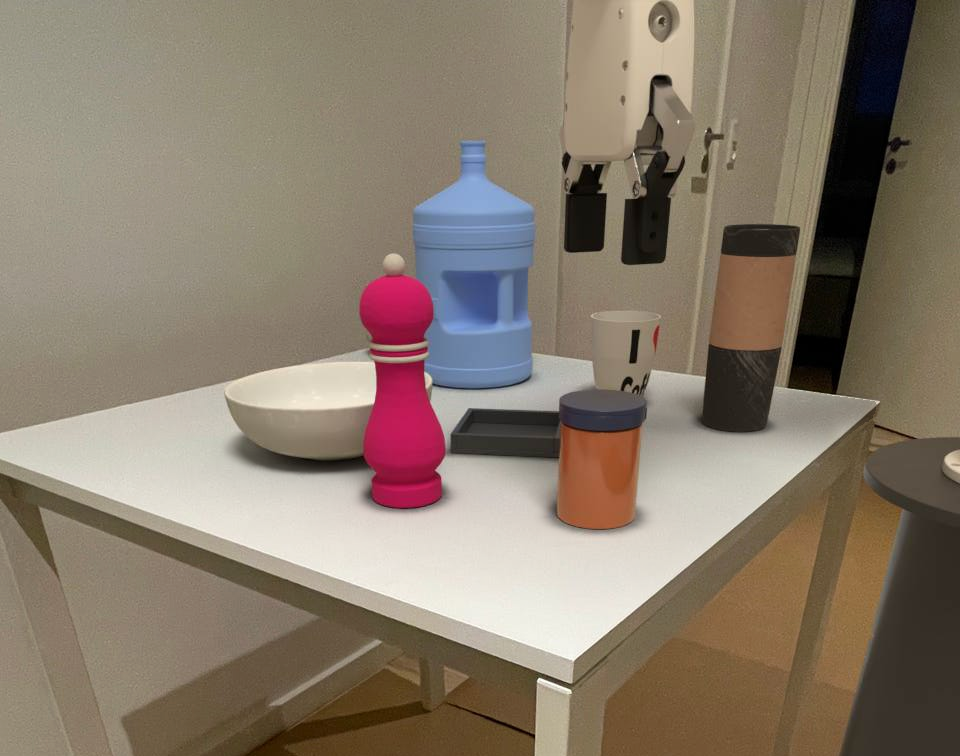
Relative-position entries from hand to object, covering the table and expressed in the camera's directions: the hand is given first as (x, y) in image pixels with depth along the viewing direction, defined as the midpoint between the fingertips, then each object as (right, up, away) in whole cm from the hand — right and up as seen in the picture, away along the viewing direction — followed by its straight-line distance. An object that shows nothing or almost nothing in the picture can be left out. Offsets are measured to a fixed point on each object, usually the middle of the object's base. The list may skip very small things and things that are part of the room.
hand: (611, 256), depth 61 cm
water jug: (-10, +8, +55) cm, 56 cm away
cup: (+8, +1, +42) cm, 43 cm away
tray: (-6, -7, +29) cm, 30 cm away
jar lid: (0, -9, +5) cm, 11 cm away
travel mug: (+19, -4, +34) cm, 39 cm away
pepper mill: (-16, -15, +14) cm, 27 cm away
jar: (0, -17, +10) cm, 20 cm away
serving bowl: (-25, -8, +27) cm, 38 cm away
